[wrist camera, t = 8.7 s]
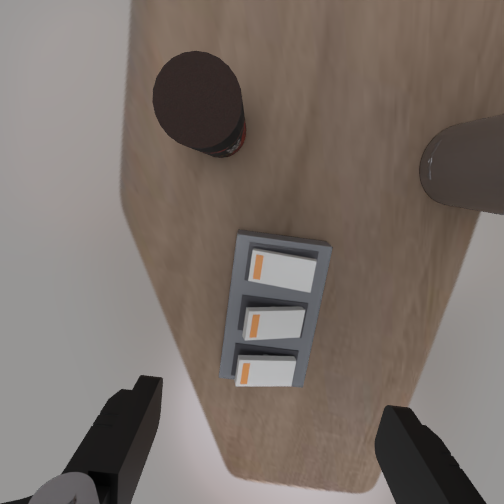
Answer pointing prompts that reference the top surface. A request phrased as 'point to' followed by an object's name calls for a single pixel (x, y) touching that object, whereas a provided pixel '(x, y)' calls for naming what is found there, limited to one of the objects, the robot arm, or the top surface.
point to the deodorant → (200, 104)
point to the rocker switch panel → (272, 301)
